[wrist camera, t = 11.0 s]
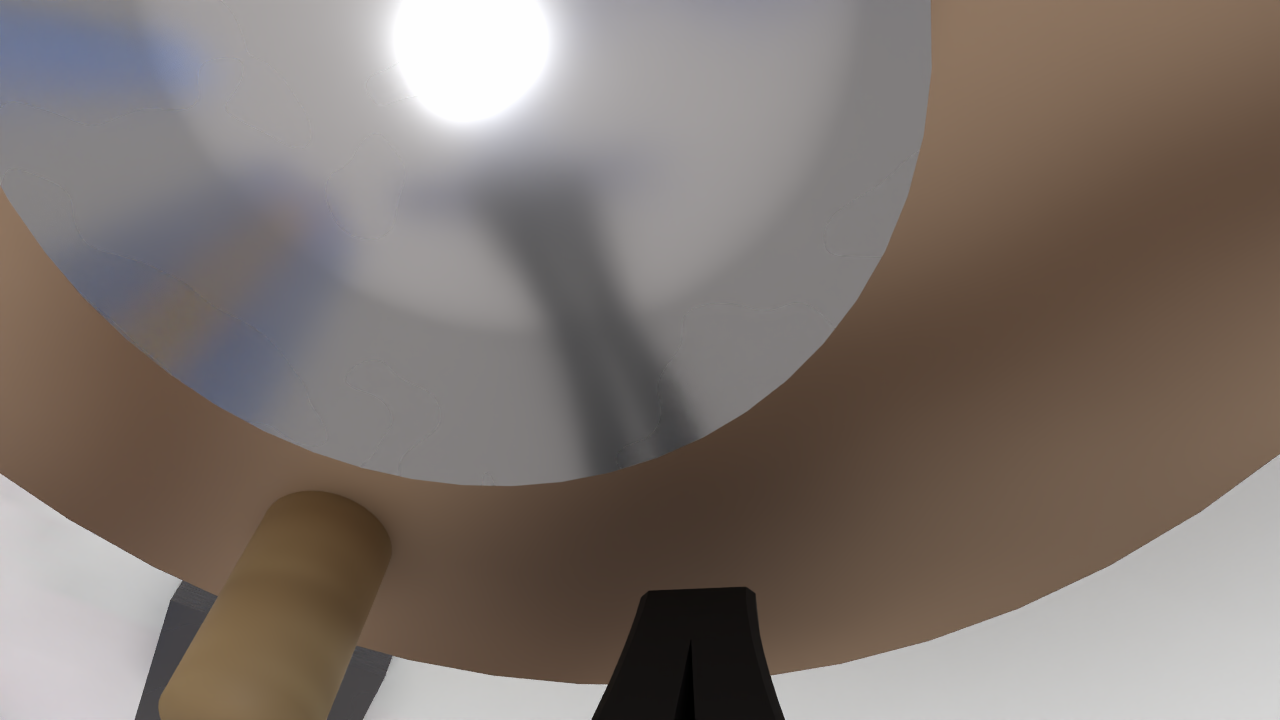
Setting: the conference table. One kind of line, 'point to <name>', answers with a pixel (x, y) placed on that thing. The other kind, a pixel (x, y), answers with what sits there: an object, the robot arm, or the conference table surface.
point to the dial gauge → (183, 626)
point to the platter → (769, 403)
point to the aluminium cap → (468, 208)
